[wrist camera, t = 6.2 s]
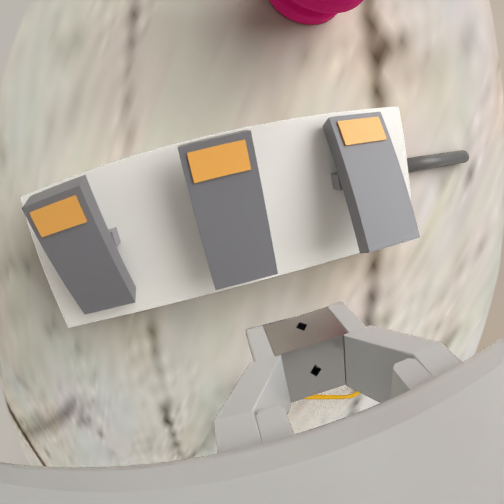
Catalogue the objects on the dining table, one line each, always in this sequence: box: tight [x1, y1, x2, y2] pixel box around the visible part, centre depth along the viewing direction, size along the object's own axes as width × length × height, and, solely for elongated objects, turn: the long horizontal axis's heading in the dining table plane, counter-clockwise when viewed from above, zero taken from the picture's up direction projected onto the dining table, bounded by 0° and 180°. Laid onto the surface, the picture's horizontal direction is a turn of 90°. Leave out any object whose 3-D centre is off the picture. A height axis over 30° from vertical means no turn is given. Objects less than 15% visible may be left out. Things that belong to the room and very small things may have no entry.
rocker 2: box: [177, 130, 278, 290], centre depth 18 cm, size 8×4×2 cm, turn 13°
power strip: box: [20, 107, 469, 328], centre depth 22 cm, size 10×38×5 cm, turn 103°
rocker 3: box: [322, 112, 420, 253], centre depth 19 cm, size 8×4×2 cm, turn 12°
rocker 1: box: [22, 175, 136, 315], centre depth 17 cm, size 8×4×2 cm, turn 13°
